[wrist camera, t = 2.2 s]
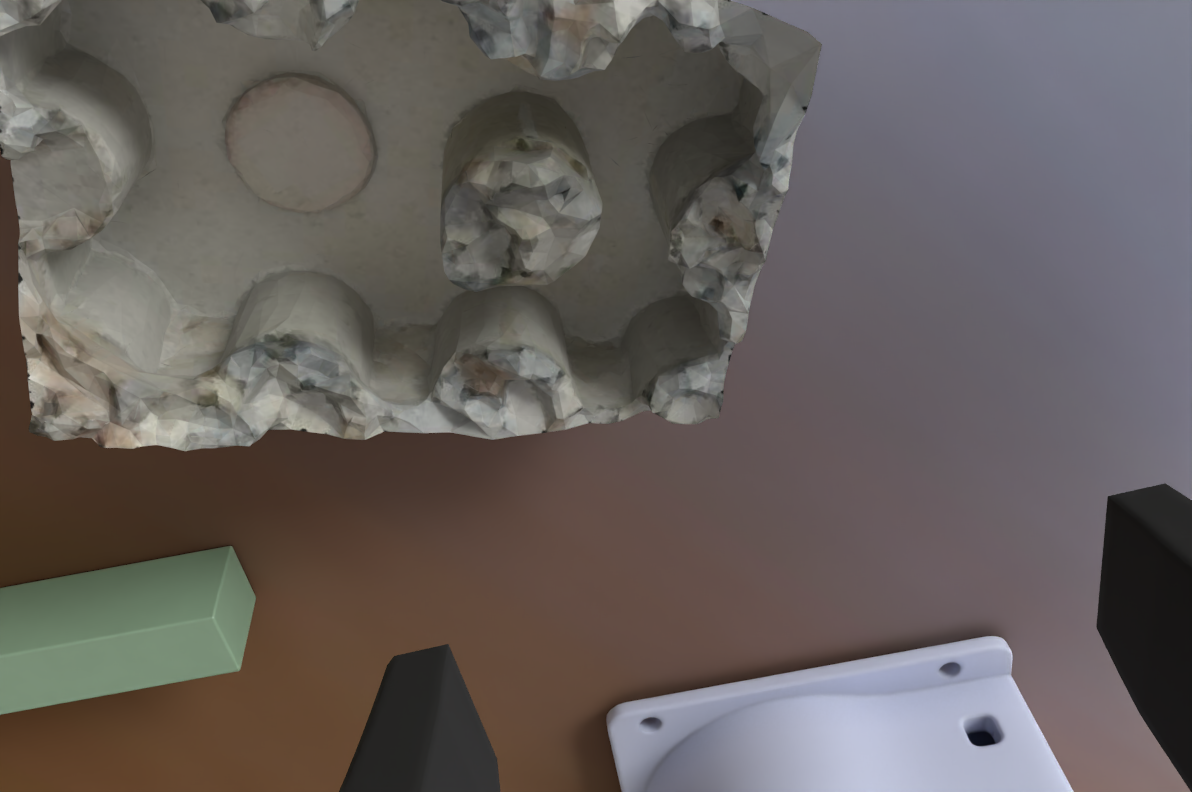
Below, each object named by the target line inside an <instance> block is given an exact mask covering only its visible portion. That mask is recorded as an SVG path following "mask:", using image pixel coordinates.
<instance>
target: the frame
mask: <svg viewBox="0 0 1192 792" xmlns="http://www.w3.org/2000/svg"><path fill="white" fill-rule="evenodd" d="M255 600H256V596H255V594H254V592H253V590H252V588H251V586H250V583H249V581H248V579H247V577H246V575H245V573H244V571H243V568H242V566H241V564H240V562H239V560H238V558H237V556H236V553H235V551H234V549H233V547H232V546H227V547H221V548H216V549H210V550H205V551H199V552H194V553H188V554H183V555H178V556H172V557H167V558H161V559H156V560H150V561H145V562H139V563H134V564H129V565H123V566H118V567H112V568H107V569H101V570H96V571H90V572H85V573H80V574H74V575H69V576H63V577H58V578H52V579H47V580H41V581H36V582H31V583H25V584H20V585H14V586H9V587H3V588H0V715H1V714H7V713H12V712H18V711H23V710H29V709H34V708H40V707H45V706H50V705H56V704H61V703H67V702H72V701H78V700H83V699H89V698H94V697H100V696H105V695H110V694H116V693H121V692H127V691H132V690H138V689H143V688H149V687H154V686H160V685H165V684H171V683H176V682H181V681H187V680H192V679H198V678H203V677H209V676H214V675H220V674H225V673H231V672H236V671H239V670H240V668H241V664H242V659H243V655H244V650H245V646H246V641H247V636H248V632H249V627H250V623H251V618H252V614H253V609H254V605H255Z"/></svg>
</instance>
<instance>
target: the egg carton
mask: <svg viewBox="0 0 1192 792" xmlns="http://www.w3.org/2000/svg"><path fill="white" fill-rule="evenodd" d="M821 46H822V44H821V43H820V42H818V41H817V40H816V39H815V38H814V37H813V36H812V35H810V34H809V33H808V32H806V31H804V30H802V29H799V28H797V27H795V26H792V25H790V24H788V23H786V22H783V21H781V20H779V19H777V18H774V17H772V16H770V15H767V14H765V13H763V12H761V11H758V10H756V9H754V8H751V7H748V6H745V5H742V4H740V3H737V2H734V1H731V0H0V150H1V155H2V157H4V158H5V159H8V160H11V170H12V178H13V187H14V194H15V200H16V206H17V213H18V219H19V227H20V238H19V242H18V266H19V275H18V295H19V320H20V326H21V333H22V340H23V346H24V353H25V356H26V365H27V373H28V386H29V395H30V405H31V411H32V414H33V415H32V418H31V422H30V426H29V432H31V433H33V434H35V435H37V436H44V437H47V438H50V439H52V440H54V441H57V440H68V439H75V438H78V437H82V438H92V439H93V440H94V441H95V442H96V443H97V444H98V445H99V446H100V447H104V448H128V449H134V448H138V447H142V446H151V445H159V446H165V447H170V448H174V449H178V450H182V451H189V450H195V449H200V448H221V447H228V446H236V445H237V446H250V445H251V444H253V443H255V442H256V441H258V440H259V439H260V438H261V437H262V436H263V435H264V434H265V433H266V432H267V431H268V430H285V429H292V430H299V431H306V432H313V433H321V434H329V435H332V436H336V437H340V438H343V439H358V440H366V439H368V438H371V437H373V436H375V435H377V434H380V433H382V432H384V431H385V432H408V433H443V432H451V433H457V434H463V435H468V436H474V437H480V438H486V439H491V440H494V439H501V438H507V437H513V436H520V435H529V434H538V433H546V432H553V431H560V430H566V429H570V428H573V427H576V426H580V425H583V424H587V423H600V424H610V423H614V422H619V421H623V420H625V419H627V418H630V417H632V416H634V415H636V414H638V413H640V412H643V411H649V410H651V411H652V412H653V413H655V414H657V415H659V416H660V417H662V418H664V419H666V420H667V421H669V422H671V423H674V424H699V423H701V422H703V421H705V420H707V419H712V418H719V414H720V410H721V406H722V402H723V387H724V380H725V375H726V371H727V367H728V364H729V360H730V357H731V353H732V350H733V348H734V346H735V343H736V344H737V343H739V342H742V340H743V337H744V335H745V332H746V327H747V321H748V314H749V308H750V302H751V298H752V294H753V290H754V286H755V283H756V281H757V278H758V275H759V273H760V270H761V268H762V266H763V264H764V263H765V261H766V257H767V252H768V248H769V243H770V239H771V235H772V230H773V227H774V225H775V222H776V219H777V217H778V214H779V211H780V208H781V206H782V203H783V200H784V197H785V195H786V193H787V191H788V186H789V175H790V170H791V166H792V156H793V144H794V140H795V136H796V133H797V129H798V127H799V125H800V123H801V121H802V119H803V117H804V115H805V113H806V110H807V107H808V104H809V101H810V98H811V95H812V90H813V85H814V80H815V75H816V70H817V65H818V60H819V55H820V51H821Z"/></svg>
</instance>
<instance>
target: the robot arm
mask: <svg viewBox="0 0 1192 792" xmlns="http://www.w3.org/2000/svg"><path fill="white" fill-rule="evenodd" d="M1097 629H1098V632H1099V634H1100V636H1101V638H1102V640H1103V642H1104V644H1105V646H1106V648H1107V650H1108V652H1109V654H1110V656H1111V658H1112V660H1113V662H1114V664H1115V666H1116V668H1117V671H1118V673H1119V675H1120V677H1121V678H1122V680H1123V682H1124V684H1125V686H1126V688H1127V690H1128V692H1129V694H1130V696H1131V698H1132V700H1133V702H1134V703H1135V705H1136V707H1137V709H1138V711H1139V713H1140V715H1141V716H1142V718H1143V719H1144V721H1145V722H1146V724H1147V726H1148V727H1149V729H1150V730H1151V732H1152V733H1153V735H1154V736H1155V738H1156V739H1157V741H1158V742H1159V744H1160V745H1161V747H1162V748H1163V750H1164V751H1165V753H1166V754H1167V756H1168V757H1169V759H1170V760H1171V762H1172V764H1173V765H1174V767H1175V768H1176V770H1177V771H1178V773H1179V774H1180V776H1181V777H1182V779H1183V780H1184V782H1185V783H1186V785H1187V786H1188V788H1189V789H1190V791H1191V792H1192V500H1190V499H1189V498H1187V497H1186V496H1184V495H1182V494H1181V493H1179V492H1178V491H1176V490H1175V489H1173V488H1171V487H1170V486H1168V485H1167V484H1161V485H1156V486H1152V487H1147V488H1143V489H1139V490H1134V491H1130V492H1125V493H1121V494H1116V495H1112V496H1108V501H1107V512H1106V524H1105V535H1104V547H1103V558H1102V570H1101V581H1100V593H1099V604H1098V616H1097ZM1012 659H1013V656H1012V651H1011V650H1010V648H1009V646H1008V644H1007V642H1006V641H1005V640H1004V639H1003V638H1000V637H997V636H985V637H980V638H974V639H969V640H963V641H958V642H952V643H947V644H941V645H936V646H931V647H925V648H920V649H914V650H909V651H903V652H898V653H892V654H887V655H881V656H876V657H870V658H865V659H859V660H854V661H849V662H843V663H838V664H832V665H827V666H821V667H816V668H810V669H805V670H799V671H794V672H788V673H783V674H777V675H772V676H766V677H761V678H756V679H750V680H745V681H739V682H734V683H728V684H723V685H717V686H712V687H706V688H701V689H695V690H690V691H684V692H679V693H674V694H668V695H663V696H657V697H652V698H646V699H641V700H635V701H630V702H624V703H621V704H618V705H616V706H615V707H613V708H612V709H611V710H610V711H609V712H608V714H607V719H606V721H607V729H608V734H609V738H610V743H611V747H612V752H613V756H614V760H615V765H616V769H617V773H618V778H619V782H620V786H621V791H622V792H1073V790H1072V788H1071V786H1070V784H1069V782H1068V781H1067V779H1066V777H1065V775H1064V773H1063V771H1062V769H1061V767H1060V766H1059V764H1058V762H1057V760H1056V758H1055V756H1054V754H1053V753H1052V751H1051V749H1050V747H1049V745H1048V743H1047V741H1046V739H1045V738H1044V736H1043V734H1042V732H1041V730H1040V728H1039V726H1038V725H1037V723H1036V721H1035V719H1034V717H1033V715H1032V713H1031V712H1030V710H1029V708H1028V706H1027V704H1026V702H1025V700H1024V698H1023V697H1022V695H1021V693H1020V691H1019V689H1018V687H1017V685H1016V684H1015V682H1014V680H1013V678H1012V676H1011V669H1012ZM649 717H652V718H649ZM339 792H500V783H499V774H498V764H497V758H496V756H495V753H494V751H493V748H492V746H491V744H490V741H489V739H488V737H487V734H486V732H485V730H484V727H483V725H482V723H481V720H480V718H479V715H478V713H477V711H476V708H475V706H474V704H473V701H472V699H471V697H470V694H469V692H468V690H467V687H466V685H465V682H464V680H463V678H462V675H461V673H460V671H459V668H458V666H457V664H456V661H455V659H454V656H453V654H452V652H451V649H450V647H449V645H448V644H446V645H442V646H438V647H433V648H429V649H424V650H420V651H415V652H411V653H406V654H402V655H397V656H394V657H393V658H392V660H391V661H390V662H389V664H388V665H387V668H386V670H385V673H384V676H383V679H382V682H381V685H380V688H379V691H378V693H377V696H376V699H375V702H374V704H373V707H372V710H371V713H370V715H369V718H368V721H367V723H366V726H365V729H364V731H363V734H362V736H361V739H360V742H359V744H358V747H357V749H356V752H355V754H354V757H353V759H352V762H351V764H350V767H349V769H348V772H347V774H346V777H345V779H344V781H343V784H342V786H341V788H340V791H339Z"/></svg>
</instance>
